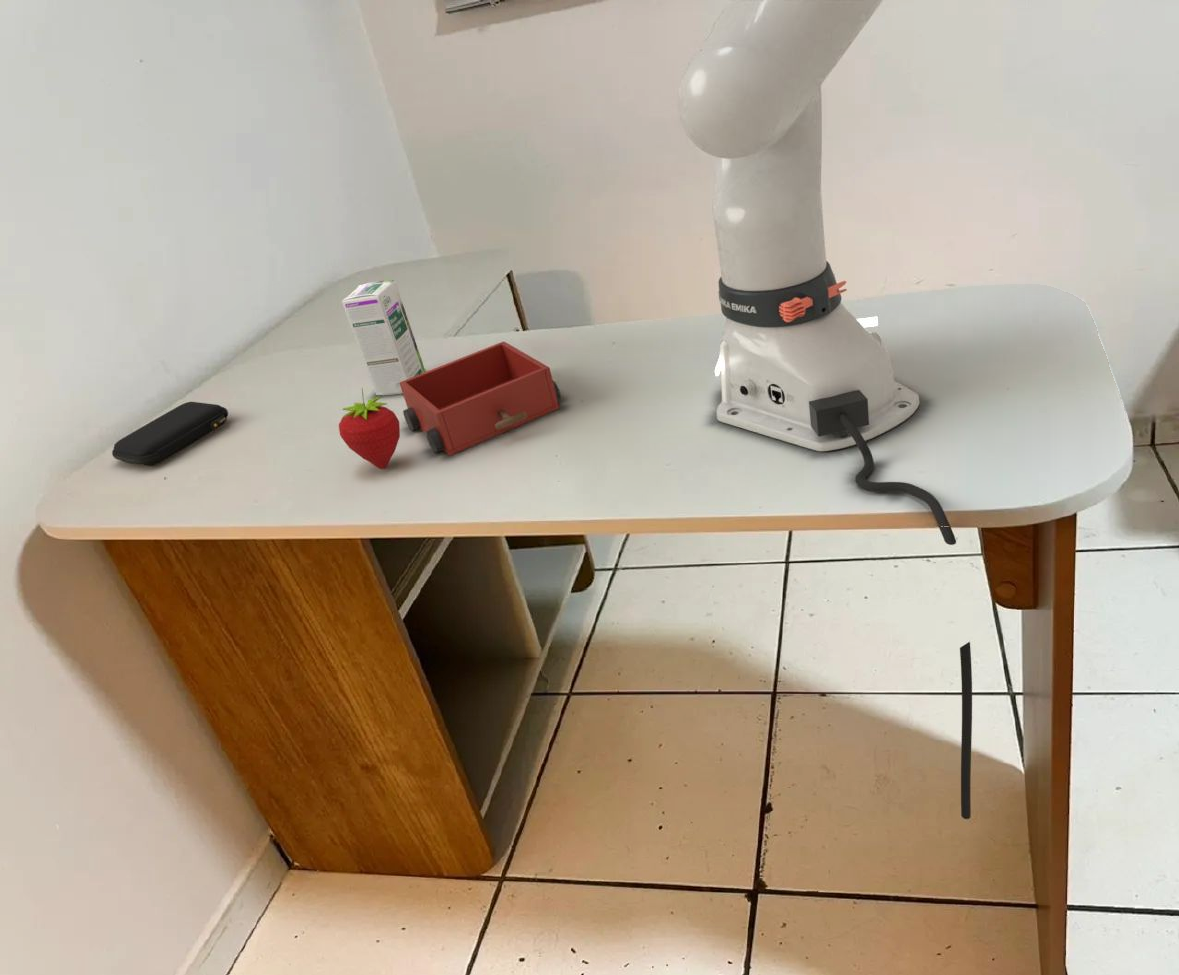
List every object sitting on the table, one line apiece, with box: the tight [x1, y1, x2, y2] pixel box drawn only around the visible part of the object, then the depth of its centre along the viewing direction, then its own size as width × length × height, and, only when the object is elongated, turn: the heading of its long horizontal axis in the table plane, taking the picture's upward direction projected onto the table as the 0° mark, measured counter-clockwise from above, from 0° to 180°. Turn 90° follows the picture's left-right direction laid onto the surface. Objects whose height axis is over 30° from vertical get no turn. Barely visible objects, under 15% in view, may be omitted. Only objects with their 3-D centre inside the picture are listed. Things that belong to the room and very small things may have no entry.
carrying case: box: [111, 401, 229, 467], centre depth 130 cm, size 11×3×15 cm
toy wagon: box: [399, 340, 562, 456], centre depth 115 cm, size 17×17×6 cm
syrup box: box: [341, 279, 427, 396], centre depth 129 cm, size 6×6×14 cm
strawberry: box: [338, 388, 401, 469], centre depth 109 cm, size 6×8×10 cm
